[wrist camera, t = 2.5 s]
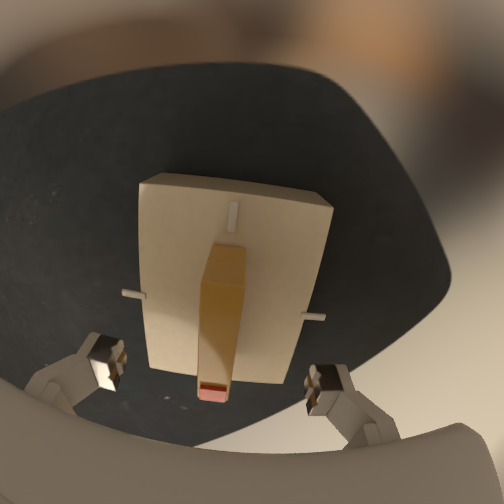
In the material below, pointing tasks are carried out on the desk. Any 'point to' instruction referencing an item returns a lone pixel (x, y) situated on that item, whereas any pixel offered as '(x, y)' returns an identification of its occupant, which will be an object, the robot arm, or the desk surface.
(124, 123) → the desk surface
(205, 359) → the yellow slab
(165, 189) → the tan block
